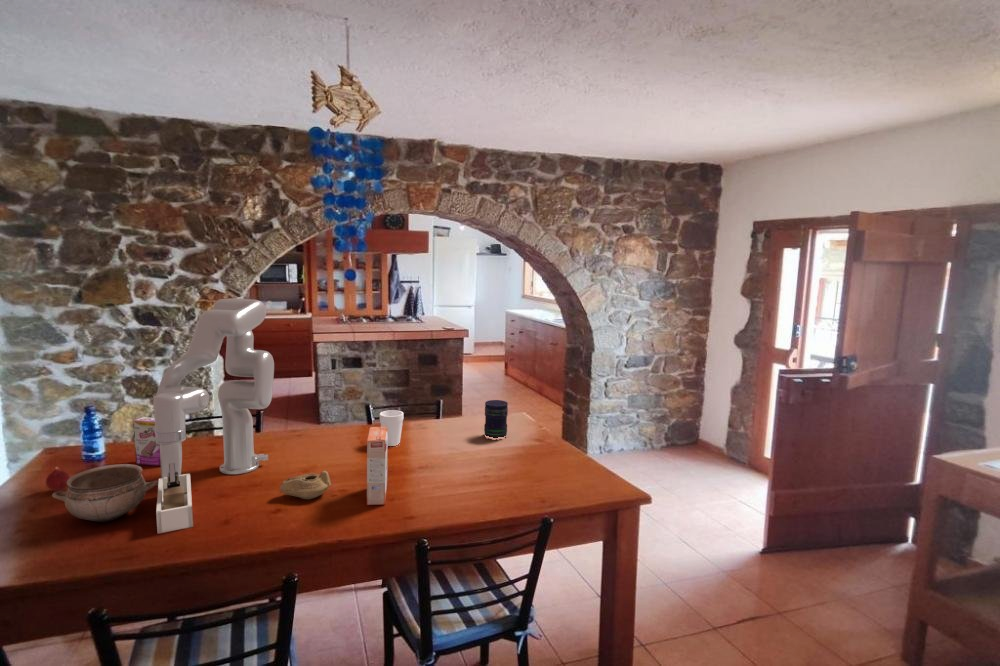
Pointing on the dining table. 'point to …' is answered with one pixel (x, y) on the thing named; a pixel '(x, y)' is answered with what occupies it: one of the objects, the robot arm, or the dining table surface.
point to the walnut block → (173, 497)
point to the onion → (57, 479)
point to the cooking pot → (105, 492)
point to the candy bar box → (146, 442)
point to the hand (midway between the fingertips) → (174, 495)
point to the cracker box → (377, 465)
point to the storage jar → (496, 418)
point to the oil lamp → (306, 485)
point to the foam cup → (392, 425)
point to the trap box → (174, 516)
